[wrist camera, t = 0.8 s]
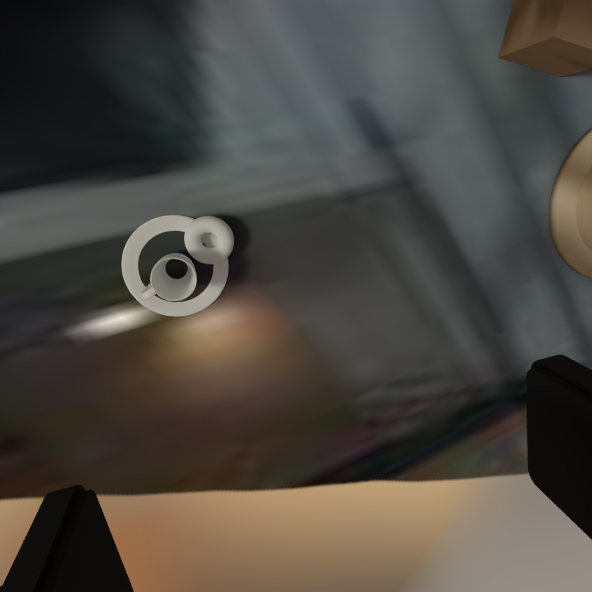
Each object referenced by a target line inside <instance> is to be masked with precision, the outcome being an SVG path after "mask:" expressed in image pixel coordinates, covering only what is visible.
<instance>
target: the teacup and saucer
mask: <svg viewBox="0 0 592 592" xmlns="http://www.w3.org/2000/svg"><path fill="white" fill-rule="evenodd" d="M166 231H183V232H185V236H184V240H185V246H186V248H187V250H188V252H189V254H190V255H191V256H192V257H193V258H194V259H196V260H197V261H199V262H201V263H205V264H213V266H214V269H213V276H212V279H211V281H210V284H209V285H208V287H207V288H206V289H205V291H204V292H203V293H201V294H200V295H199V296H197V297H196V298H194V299H192V300H189V301H185V302H168V301H165V300H162V299H160V298H158V297H156V296H154V295H155V294H156V293H157V294H158V295H159V296H160V297H162V298H164V299H166V300H170V301H178V300H182V299H185V298H186V297H188V296H189V295H190V294H191V293H192V292H193V291H194V289H195V287H196V283H197V275H196V270H195V267H194V264H193V263H192V261H191V260H190V259H189V258H188V257H187V256H185V255H183V254H180V253H172V254H168V255H166V256H164V257H163V258H161V259H160V260H159V261H158V262H157V264H156V265H155V266H154V268H153V270H152V272H151V277H150V280H151V283H150V284H149V285H148V286H147V287H145V286H144V285H143V283H142V281H141V279H140V276H139V272H138V258H139V255H140V252H141V250H142V248H143V247H144V245H145V244H146V243H147V242H148V241H149V240H150V239H151V238H152V237H154V236H156V235H157V234H160V233H162V232H166ZM202 242H203V243H204V244H205V245H206V246H207V247H205V246H204V245H203V244H202ZM233 246H234V236H233V232H232V230H231V228H230V227H229V226H228V225H227V224H226V223H225V222H224V221H223V220H221V219H219V218H217V217H214V216H203V217H199V218H197V219H193V218H190V217H187V216H181V215H166V216H161V217H157V218H154V219H152V220H149V221H148V222H146V223H144V224H143V225H141V226H140V227H139V228H138V229H137V230H136V231H135V232H134V233H133V234H132V235H131V237H130V238H129V240H128V241H127V243H126V245H125V248H124V251H123V255H122V273H123V277H124V280H125V283H126V285H127V287H128V289H129V291H130V292H131V294H132V295H133V296H134V297H135V298H136V300H137V301H139V302H140V303H141V304H142V305H143V306H145V307H146V308H148V309H150V310H152V311H154V312H156V313H159V314H163V315H167V316H186V315H191V314H194V313H197V312H199V311H201V310H203V309H205V308H206V307H208V306H209V305H211V304H212V303H213V302H214V301H215V300H216V299H217V298H218V296H219V295H220V294H221V292H222V290H223V288H224V286H225V284H226V281H227V277H228V268H229V266H228V256H229V255H230V253H231V252H232V249H233ZM170 259H179V260H182V261H184V262H186V264H187V267H188V271H187V274H186V275H185V276H184V277H183V278H180V279H173V278H171V277H169V276H168V274H167V273H166V270H165V267H166V264H167V262H168V261H169V260H170Z"/></svg>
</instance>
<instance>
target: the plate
mask: <svg viewBox="0 0 592 592" xmlns="http://www.w3.org/2000/svg"><path fill="white" fill-rule="evenodd" d="M549 222H550V230H551V235H552V239H553V242H554V244H555V247H556V249H557V251H558V253H559V255H560V256H561V257H562V259H563V260H564V261H565V263H567V264H568V265H569V266H570V267H571V268H572V269H573V270H575V271H576V272H578V273H580V274H582V275H584V276H587V277H590V278H592V128H591V129H590V130H589V131H588V132H587V133H586V134H585V135H584V136H583V137H582V138H581V139H580V140H579V141H578V142H577V143H576V144H575V146H574V147H573V148H572V149H571V151H570V152H569V154H568V155H567V157H566V158H565V160H564V162H563V164H562V166H561V168H560V170H559V172H558V175H557V177H556V180H555V182H554V186H553V190H552V194H551V200H550V208H549Z"/></svg>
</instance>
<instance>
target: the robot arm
mask: <svg viewBox="0 0 592 592" xmlns="http://www.w3.org/2000/svg"><path fill="white" fill-rule="evenodd" d="M526 380H527V446H528V472H529V475H530V477H531V479H532V481H533V482H534V484H535V485H536V486H537V487H538V488H539V489H540V490H541V491H542V492H543V493H544V494H545V495H546V496H547V497H548V498H549V499H550V500H551V501H552V502H553V503H554V504H556V506H558V507H559V508H560V509H561V510H562V511H563V512H564V513H565V514H566V515H567V516H568V517H569V518H570V519H571V520H572V521H573V522H574V523H575V524H576V525H577V526H578V527H579V528H580V529H581V530H583V532H585V533H586V534H587V535H588V536H589V537H590V538H591V539H592V370H591V369H589V368H587V367H585V366H583V365H581V364H580V363H578V362H576V361H574V360H572V359H570V358H568V357H566V356H564V355H555V356H552V357H548V358H544V359H541V360H537V361H535V362H534V363H533V364H532V366H531V369H530V370H529V371H528V372H527V376H526ZM0 592H134V591H133V588H132V586H131V583H130V580H129V578H128V575H127V573H126V570H125V568H124V565H123V563H122V560H121V558H120V555H119V552H118V550H117V547H116V545H115V542H114V540H113V537H112V535H111V532H110V530H109V527H108V524H107V522H106V519H105V517H104V514H103V511H102V509H101V506H100V504H99V501H98V499H97V496H96V494H95V492H94V491H93V490H87V491H85V489H84V488H83V487H82V486H81V485H76V486H73V487H69V488H65V489H62V490H58V491H54V492H51V493H48V494H47V495H46V496H45V498H44V500H43V502H42V504H41V506H40V508H39V510H38V512H37V514H36V516H35V518H34V521H33V523H32V525H31V527H30V529H29V531H28V533H27V535H26V537H25V540H24V541H23V544H22V546H21V548H20V550H19V552H18V554H17V556H16V558H15V560H14V562H13V565H12V567H11V569H10V571H9V573H8V575H7V577H6V579H5V581H4V584H3V585H2V586H1V587H0Z"/></svg>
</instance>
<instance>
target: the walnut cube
mask: <svg viewBox="0 0 592 592" xmlns="http://www.w3.org/2000/svg"><path fill="white" fill-rule="evenodd" d="M498 58H501V59H504V60H507V61H511V62H514V63H517V64H520V65H524V66H527V67H530V68H533V69H536V70H540V71H543V72H546V73H549V74H553V75H556V76H559V77H563V76H567V75H571V74H575V73H579V72H583V71H587V70H591V69H592V0H514V2H513V6H512V10H511V13H510V17H509V20H508V24H507V28H506V31H505V35H504V38H503V42H502V46H501V49H500V53H499V56H498Z"/></svg>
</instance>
